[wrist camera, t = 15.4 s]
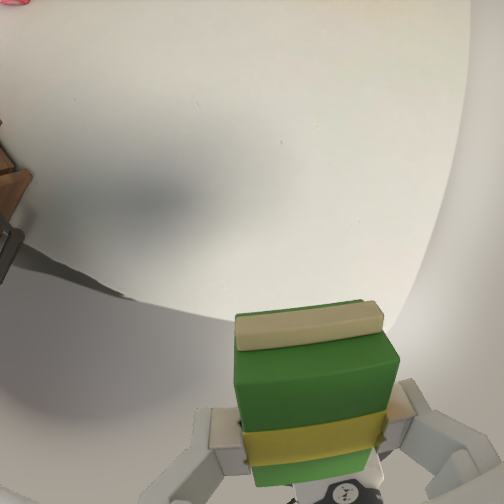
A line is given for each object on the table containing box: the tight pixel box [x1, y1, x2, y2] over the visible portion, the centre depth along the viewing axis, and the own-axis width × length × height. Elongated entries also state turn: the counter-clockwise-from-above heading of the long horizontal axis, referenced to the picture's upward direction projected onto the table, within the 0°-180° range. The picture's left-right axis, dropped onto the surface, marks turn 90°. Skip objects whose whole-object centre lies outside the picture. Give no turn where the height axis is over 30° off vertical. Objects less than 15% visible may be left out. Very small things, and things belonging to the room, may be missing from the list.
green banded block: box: [234, 299, 400, 487], centre depth 9 cm, size 4×7×3 cm, turn 5°
